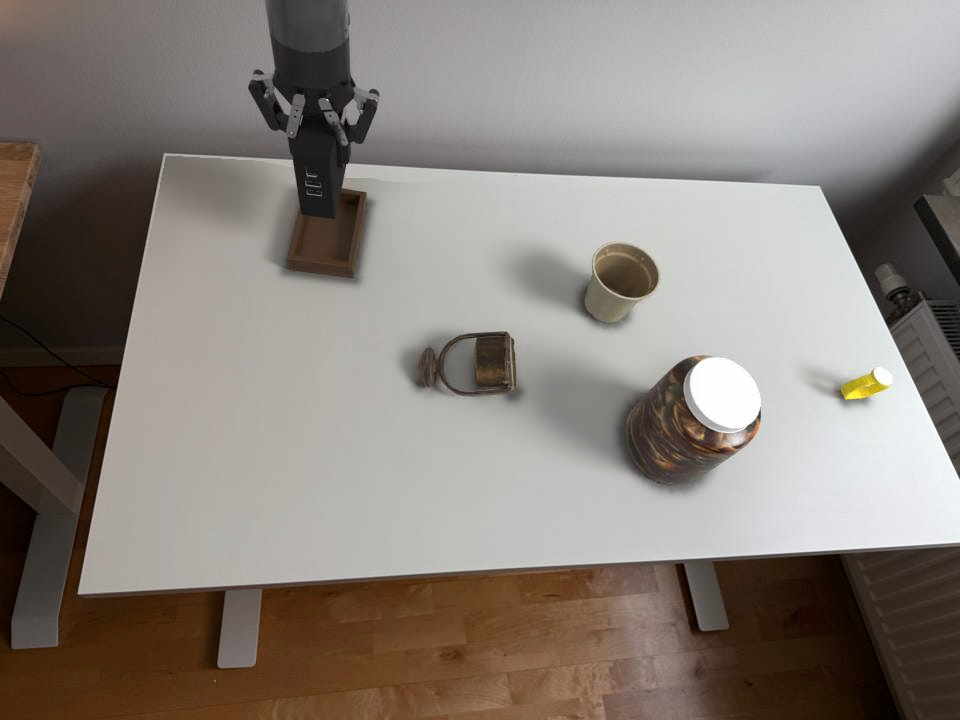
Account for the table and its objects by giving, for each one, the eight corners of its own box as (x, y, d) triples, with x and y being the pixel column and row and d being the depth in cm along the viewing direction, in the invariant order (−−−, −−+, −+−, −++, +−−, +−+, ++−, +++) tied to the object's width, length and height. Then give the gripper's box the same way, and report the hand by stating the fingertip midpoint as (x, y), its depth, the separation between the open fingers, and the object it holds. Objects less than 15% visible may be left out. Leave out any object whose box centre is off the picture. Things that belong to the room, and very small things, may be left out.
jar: (727, 458, 78) (798, 412, 65) (661, 502, 73) (724, 462, 60) (669, 385, 82) (726, 328, 69) (604, 423, 77) (651, 370, 64)
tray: (288, 270, 81) (286, 258, 79) (307, 195, 88) (305, 182, 85) (353, 278, 82) (352, 267, 80) (366, 203, 89) (366, 191, 86)
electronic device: (301, 218, 74) (291, 155, 66) (314, 160, 79) (307, 95, 71) (335, 222, 75) (330, 161, 66) (347, 165, 80) (343, 101, 71)
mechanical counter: (514, 412, 70) (542, 337, 73) (413, 368, 69) (446, 294, 72) (501, 421, 77) (528, 352, 80) (409, 382, 76) (439, 314, 79)
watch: (838, 405, 85) (868, 387, 79) (829, 387, 86) (859, 368, 81) (873, 402, 86) (905, 383, 81) (865, 384, 87) (896, 365, 82)
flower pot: (647, 325, 86) (673, 291, 78) (589, 340, 83) (611, 305, 76) (618, 273, 90) (641, 235, 82) (563, 286, 87) (580, 248, 80)
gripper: (222, 34, 55) (253, 173, 70) (378, 61, 57) (377, 191, 72) (241, -13, 59) (267, 129, 74) (388, 14, 60) (384, 147, 75)
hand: (321, 159), depth 72 cm, fingers closed on electronic device, 4 cm apart
